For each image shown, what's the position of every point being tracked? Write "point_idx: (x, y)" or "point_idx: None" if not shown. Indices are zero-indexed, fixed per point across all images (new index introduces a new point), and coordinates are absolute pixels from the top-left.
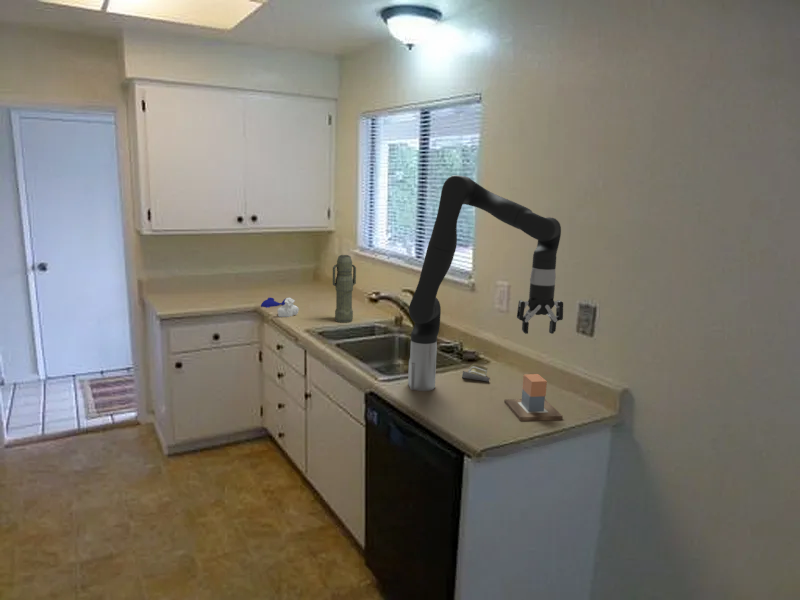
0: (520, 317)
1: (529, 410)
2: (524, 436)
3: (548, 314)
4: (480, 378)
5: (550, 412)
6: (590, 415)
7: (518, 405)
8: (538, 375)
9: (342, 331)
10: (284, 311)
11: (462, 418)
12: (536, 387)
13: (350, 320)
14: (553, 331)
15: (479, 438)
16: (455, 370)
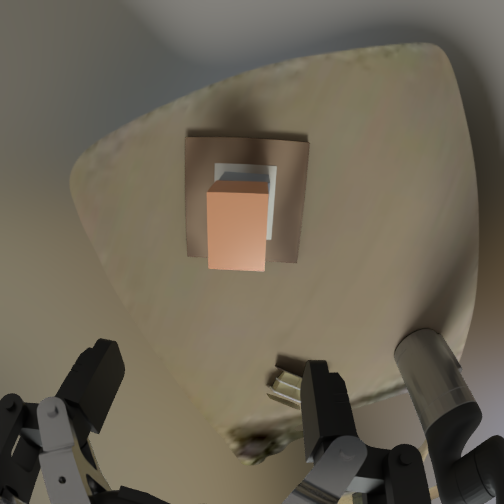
0: (415, 465)
1: (266, 175)
2: (334, 58)
3: (96, 481)
4: (293, 374)
5: (208, 162)
6: (110, 160)
7: (277, 220)
8: (213, 255)
9: None
10: None
11: (429, 187)
12: (248, 187)
13: (357, 496)
14: (97, 346)
15: (431, 82)
16: None
